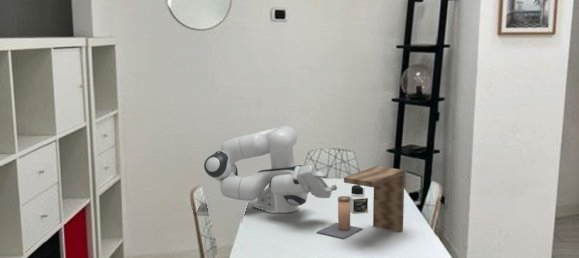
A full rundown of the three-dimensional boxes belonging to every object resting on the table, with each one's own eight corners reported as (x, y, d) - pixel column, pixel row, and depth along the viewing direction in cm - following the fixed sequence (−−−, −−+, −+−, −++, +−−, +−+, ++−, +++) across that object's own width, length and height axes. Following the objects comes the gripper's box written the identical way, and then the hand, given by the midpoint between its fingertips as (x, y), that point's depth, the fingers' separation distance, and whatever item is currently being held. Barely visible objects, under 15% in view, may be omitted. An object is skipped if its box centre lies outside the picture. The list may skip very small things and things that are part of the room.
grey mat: (316, 233, 236) (316, 231, 236) (336, 223, 248) (336, 222, 248) (343, 239, 229) (343, 237, 228) (362, 229, 240) (362, 228, 240)
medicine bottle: (353, 213, 263) (353, 188, 261) (347, 209, 270) (348, 184, 268) (367, 212, 265) (368, 187, 263) (361, 208, 272) (362, 183, 270)
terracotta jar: (335, 229, 239) (335, 198, 237) (342, 226, 243) (342, 195, 241) (346, 231, 236) (346, 200, 234) (352, 228, 240) (352, 197, 238)
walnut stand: (343, 241, 226) (343, 177, 222) (375, 225, 246) (376, 166, 242) (372, 248, 218) (373, 182, 214) (402, 230, 238) (404, 169, 234)
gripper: (312, 202, 252) (340, 201, 244) (290, 176, 239) (319, 174, 231) (315, 190, 255) (343, 188, 248) (294, 163, 242) (322, 161, 235)
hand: (331, 181), depth 239 cm, fingers open, 8 cm apart
